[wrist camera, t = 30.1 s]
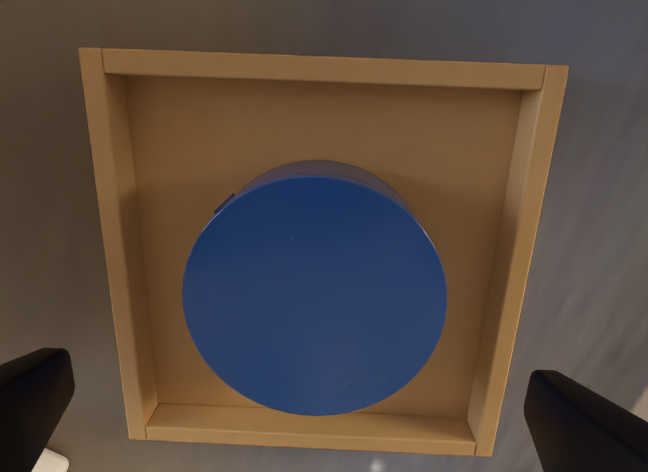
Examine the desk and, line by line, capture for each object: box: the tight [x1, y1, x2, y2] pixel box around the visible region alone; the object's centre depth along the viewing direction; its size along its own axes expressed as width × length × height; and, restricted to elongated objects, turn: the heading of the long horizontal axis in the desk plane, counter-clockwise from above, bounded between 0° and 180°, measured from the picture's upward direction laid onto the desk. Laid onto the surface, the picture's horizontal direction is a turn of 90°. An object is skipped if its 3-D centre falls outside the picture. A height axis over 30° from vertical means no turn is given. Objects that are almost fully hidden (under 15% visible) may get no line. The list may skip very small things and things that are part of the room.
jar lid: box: [182, 160, 447, 416], centre depth 12 cm, size 7×7×3 cm
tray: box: [78, 47, 569, 457], centre depth 13 cm, size 12×12×2 cm
